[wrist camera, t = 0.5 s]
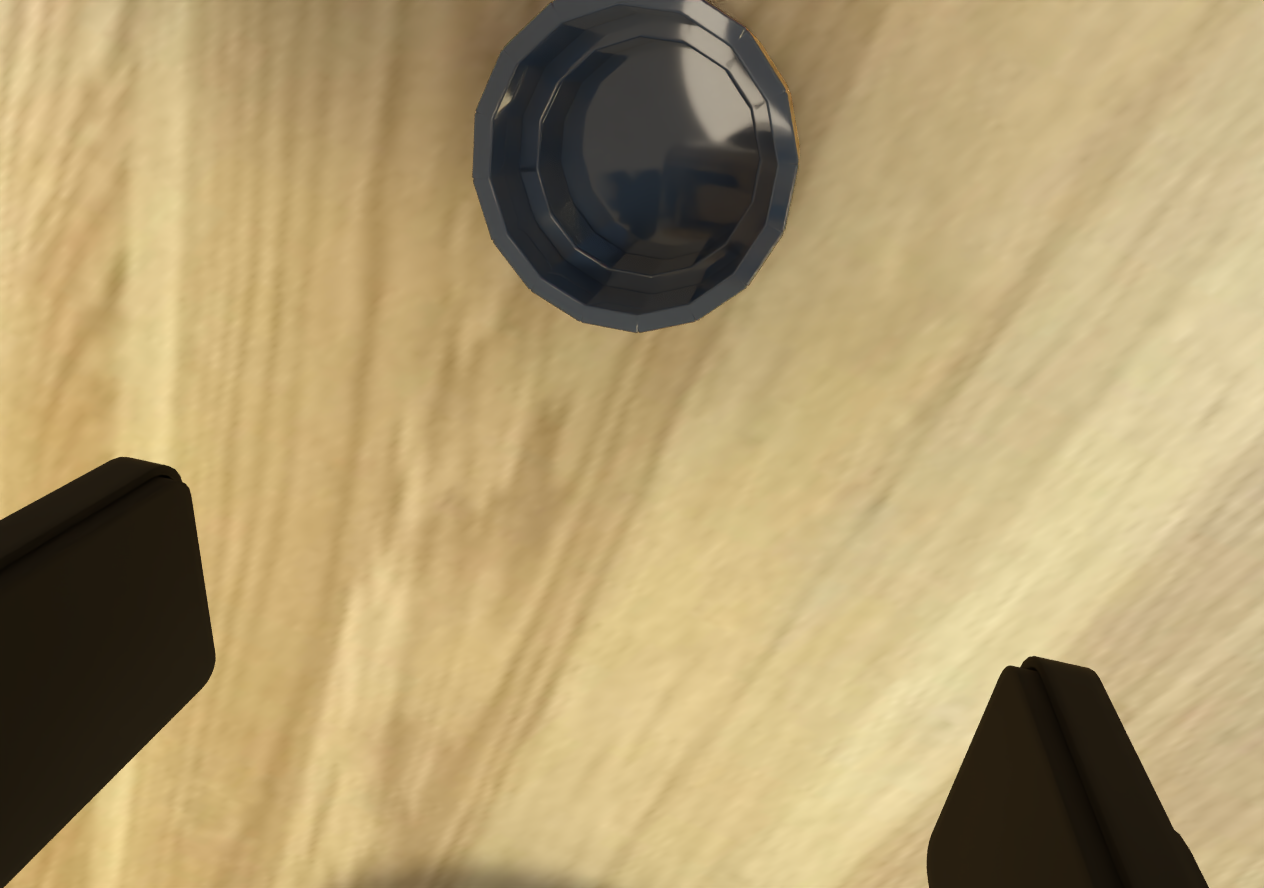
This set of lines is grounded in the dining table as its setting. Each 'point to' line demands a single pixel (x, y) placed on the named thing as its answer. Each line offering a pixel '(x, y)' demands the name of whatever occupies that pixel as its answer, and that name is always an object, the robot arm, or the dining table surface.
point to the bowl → (635, 159)
